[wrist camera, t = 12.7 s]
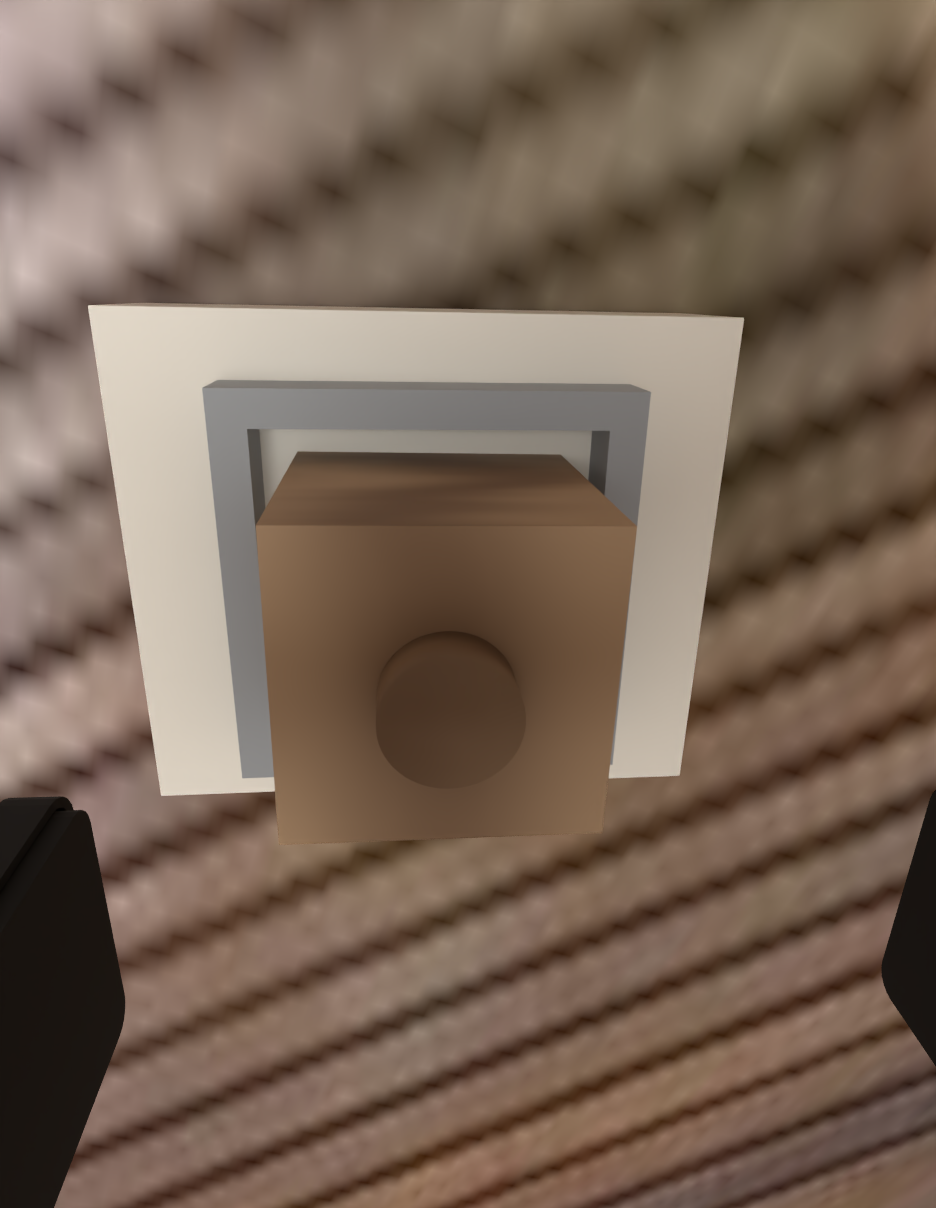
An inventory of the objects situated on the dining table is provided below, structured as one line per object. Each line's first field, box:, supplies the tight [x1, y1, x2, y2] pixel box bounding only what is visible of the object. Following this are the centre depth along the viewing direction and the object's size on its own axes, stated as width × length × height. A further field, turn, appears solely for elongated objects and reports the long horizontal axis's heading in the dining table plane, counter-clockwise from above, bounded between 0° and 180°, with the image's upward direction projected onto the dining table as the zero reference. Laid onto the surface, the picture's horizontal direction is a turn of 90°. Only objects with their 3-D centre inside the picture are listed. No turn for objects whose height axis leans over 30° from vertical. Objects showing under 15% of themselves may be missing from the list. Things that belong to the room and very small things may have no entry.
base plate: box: [88, 303, 744, 796], centre depth 20 cm, size 14×12×6 cm
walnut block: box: [256, 451, 637, 845], centre depth 16 cm, size 6×6×7 cm
